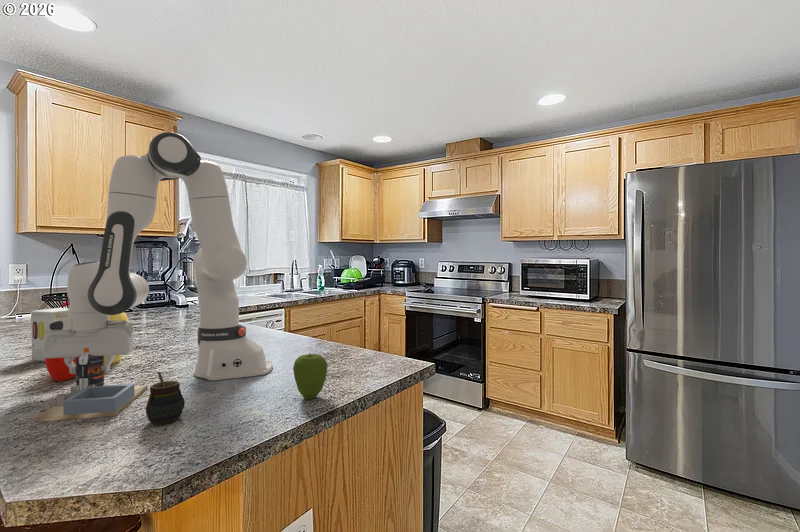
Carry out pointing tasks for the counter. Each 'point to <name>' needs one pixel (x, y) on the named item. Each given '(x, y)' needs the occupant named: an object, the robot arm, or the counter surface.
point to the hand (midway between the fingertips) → (90, 372)
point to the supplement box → (43, 328)
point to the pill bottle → (89, 370)
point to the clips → (73, 391)
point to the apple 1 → (58, 369)
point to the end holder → (99, 399)
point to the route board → (58, 413)
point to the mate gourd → (164, 402)
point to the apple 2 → (310, 374)
